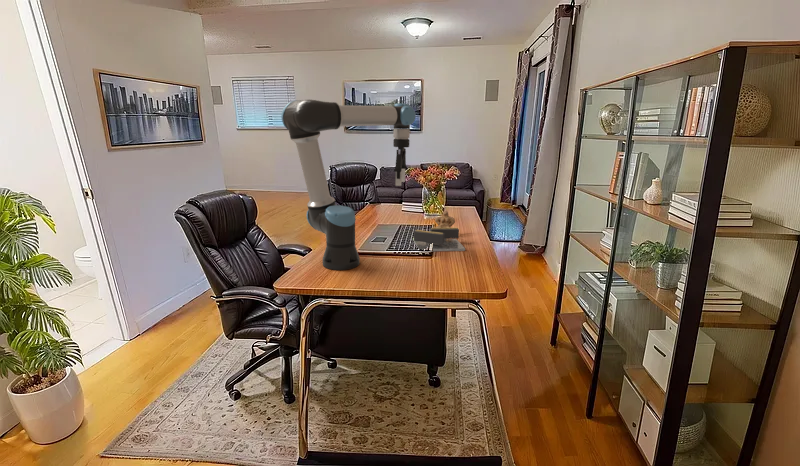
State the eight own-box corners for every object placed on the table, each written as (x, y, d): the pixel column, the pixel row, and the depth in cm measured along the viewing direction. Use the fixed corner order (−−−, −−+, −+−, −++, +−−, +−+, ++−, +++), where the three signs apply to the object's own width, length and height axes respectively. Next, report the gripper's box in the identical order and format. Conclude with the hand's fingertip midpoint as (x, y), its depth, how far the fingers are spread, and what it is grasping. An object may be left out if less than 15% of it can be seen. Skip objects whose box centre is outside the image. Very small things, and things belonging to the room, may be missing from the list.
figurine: (431, 237, 196) (433, 208, 197) (435, 238, 205) (436, 211, 206) (452, 238, 193) (454, 209, 194) (454, 239, 202) (456, 211, 203)
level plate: (417, 251, 172) (417, 247, 172) (412, 241, 188) (412, 237, 187) (465, 250, 175) (465, 246, 175) (455, 240, 190) (456, 236, 190)
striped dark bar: (442, 246, 176) (442, 234, 174) (413, 242, 180) (414, 230, 178) (443, 244, 179) (444, 232, 177) (415, 240, 183) (416, 229, 181)
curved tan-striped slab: (458, 240, 186) (459, 228, 184) (430, 240, 184) (431, 228, 183) (456, 238, 189) (457, 226, 187) (429, 238, 187) (429, 227, 186)
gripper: (406, 139, 163) (404, 187, 169) (412, 138, 187) (410, 180, 192) (389, 138, 164) (388, 187, 169) (397, 137, 188) (396, 180, 193)
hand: (400, 183), depth 181 cm, fingers open, 13 cm apart
